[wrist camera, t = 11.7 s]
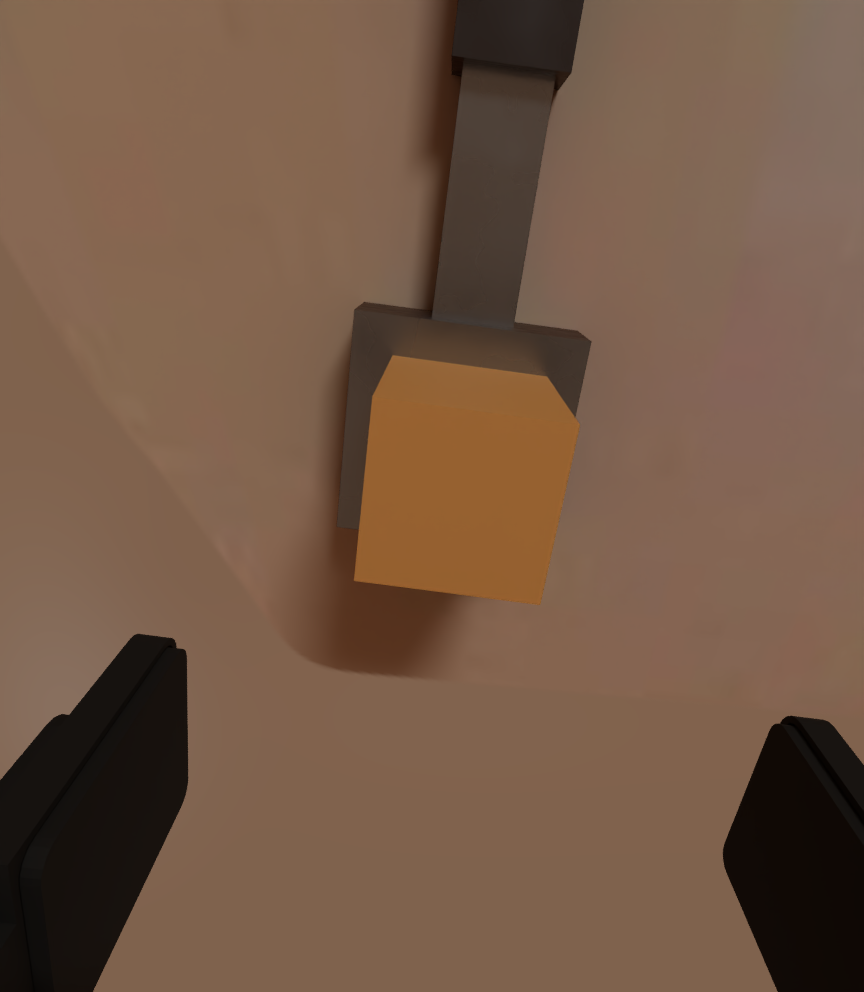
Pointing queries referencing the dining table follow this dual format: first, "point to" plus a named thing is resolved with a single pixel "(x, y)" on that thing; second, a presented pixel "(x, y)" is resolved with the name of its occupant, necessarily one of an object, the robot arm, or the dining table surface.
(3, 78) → the dining table surface
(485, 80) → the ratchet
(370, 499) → the orange cube
